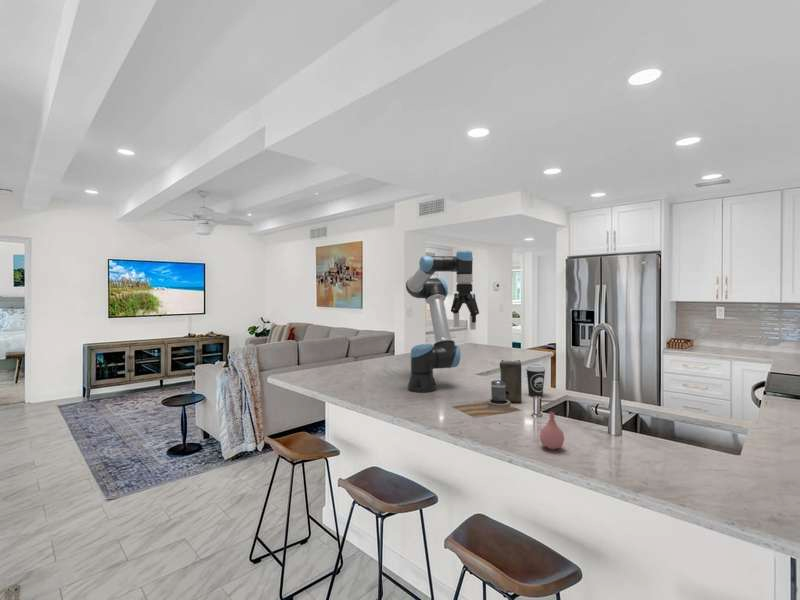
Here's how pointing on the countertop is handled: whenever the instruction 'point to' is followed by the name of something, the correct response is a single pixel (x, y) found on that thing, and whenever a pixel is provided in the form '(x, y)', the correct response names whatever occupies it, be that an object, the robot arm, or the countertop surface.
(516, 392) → the vintage camera
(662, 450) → the countertop surface
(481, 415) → the mount board
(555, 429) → the perfume bottle
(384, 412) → the countertop surface
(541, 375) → the coffee cup
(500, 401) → the lens
